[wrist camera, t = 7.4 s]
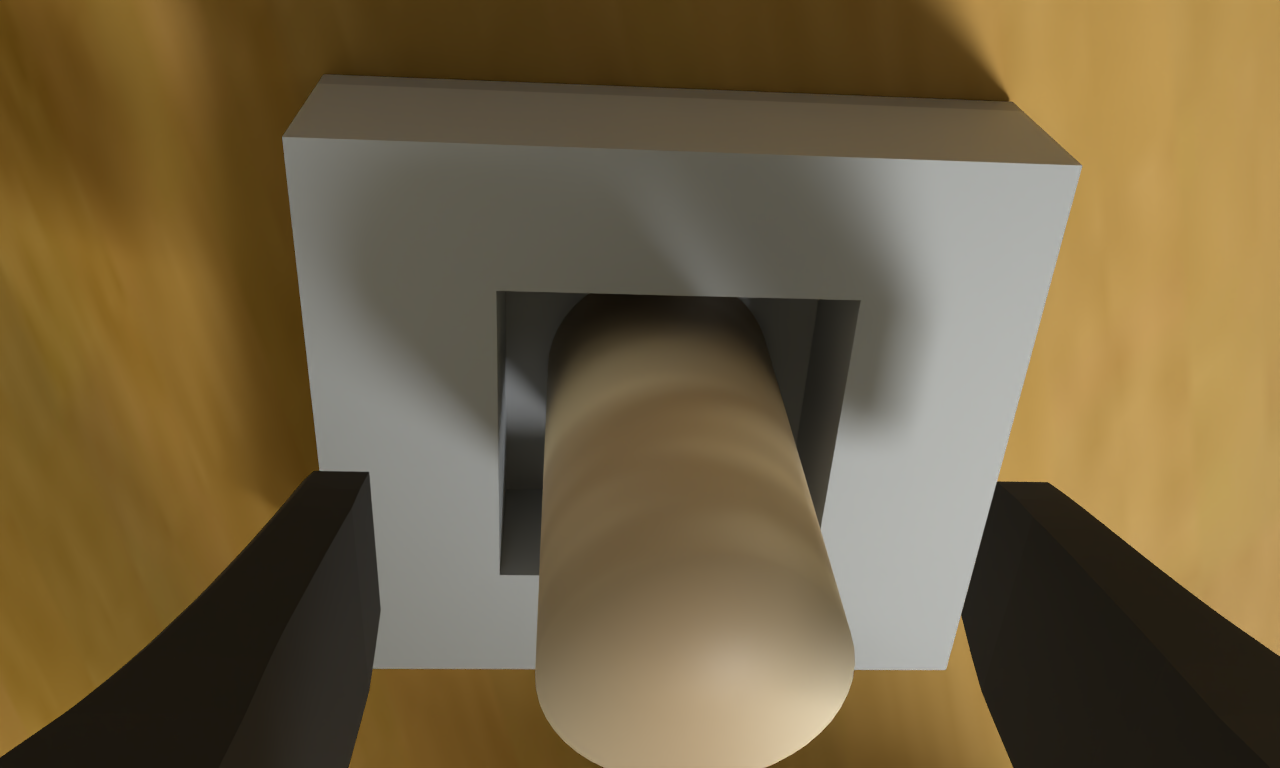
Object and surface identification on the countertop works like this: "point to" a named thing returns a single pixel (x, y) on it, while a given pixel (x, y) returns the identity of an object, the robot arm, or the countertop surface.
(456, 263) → the hole block
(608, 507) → the maple pin
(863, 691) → the countertop surface
